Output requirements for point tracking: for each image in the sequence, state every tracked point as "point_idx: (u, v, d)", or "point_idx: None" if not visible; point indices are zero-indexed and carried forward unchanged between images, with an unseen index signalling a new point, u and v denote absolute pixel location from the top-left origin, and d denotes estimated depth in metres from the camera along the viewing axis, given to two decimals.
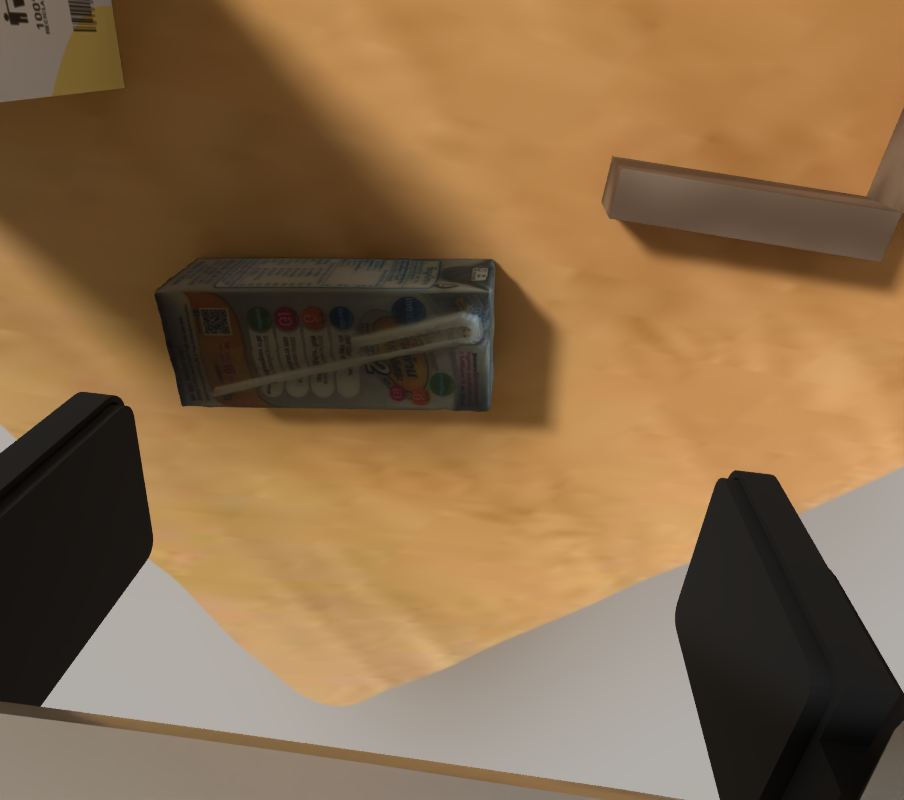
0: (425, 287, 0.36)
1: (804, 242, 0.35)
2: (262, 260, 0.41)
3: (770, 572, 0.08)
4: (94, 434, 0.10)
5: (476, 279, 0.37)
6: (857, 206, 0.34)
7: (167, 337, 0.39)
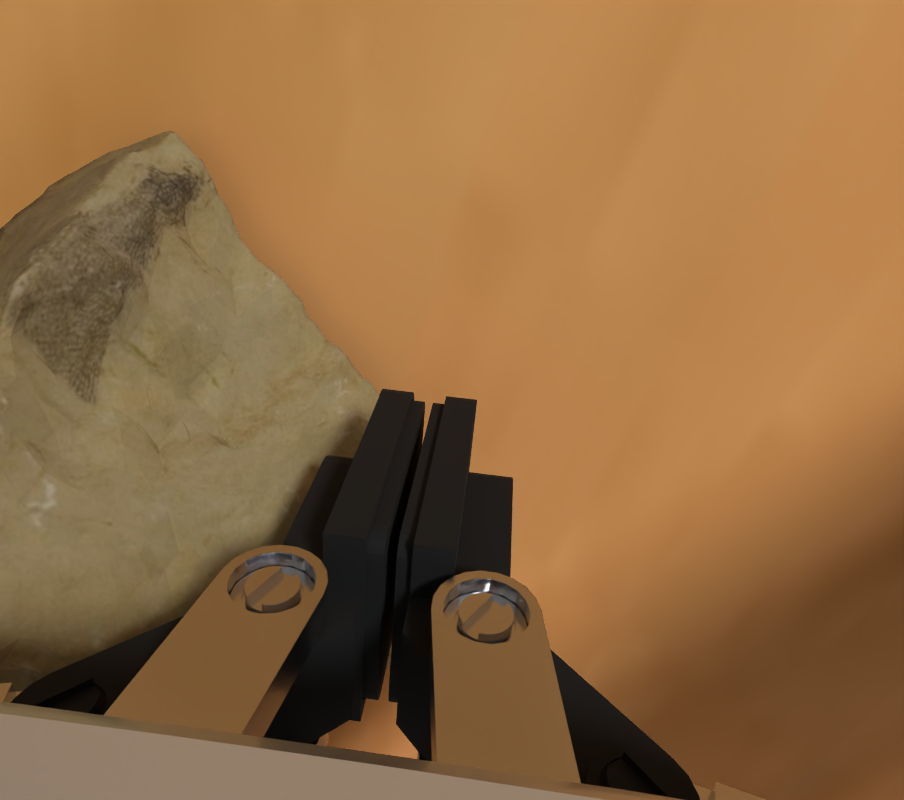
0: None
1: None
2: None
3: (420, 470, 0.09)
4: (415, 427, 0.10)
5: None
6: None
7: None
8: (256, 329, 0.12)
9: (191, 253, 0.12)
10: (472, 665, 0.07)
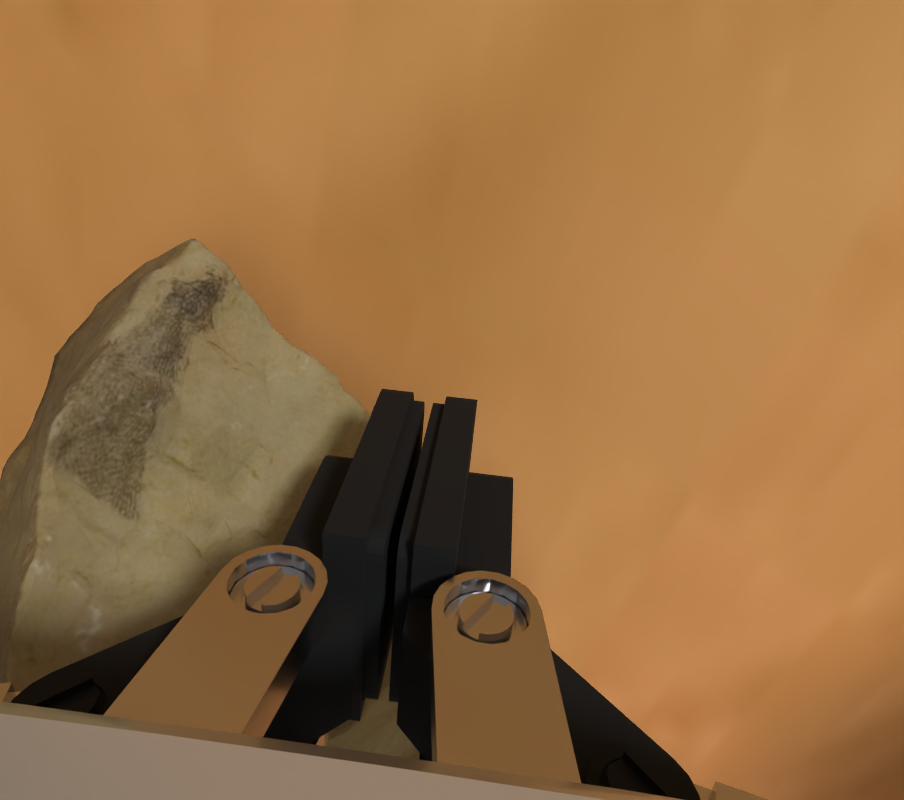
0: None
1: None
2: None
3: (420, 469, 0.09)
4: (415, 427, 0.10)
5: None
6: None
7: None
8: (292, 415, 0.13)
9: (221, 354, 0.12)
10: (472, 665, 0.07)
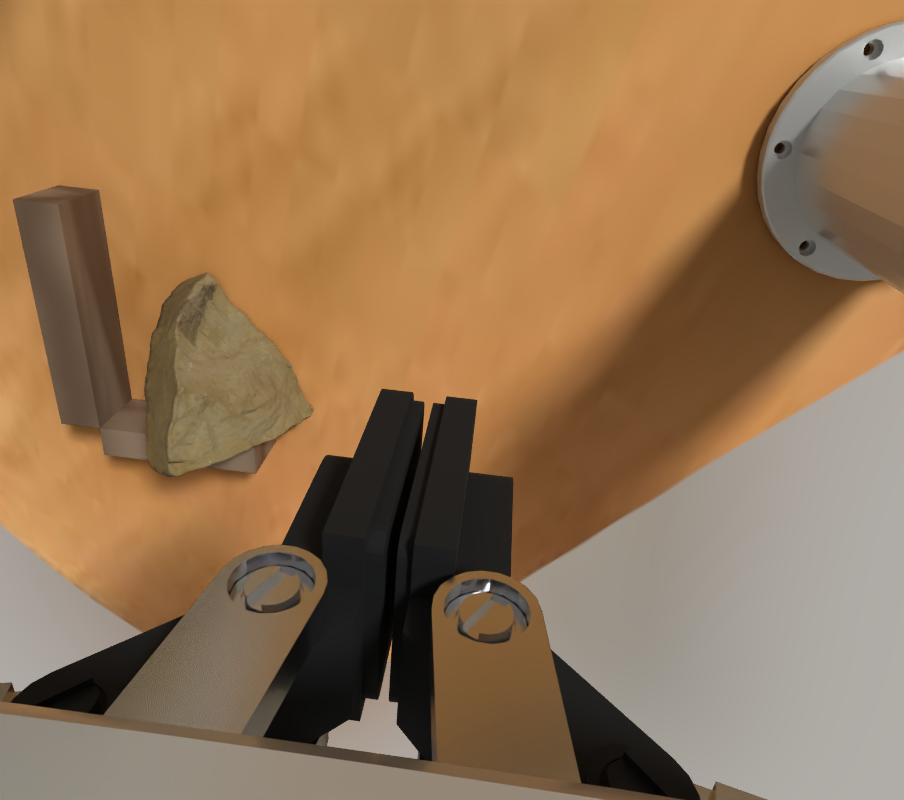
0: None
1: (54, 366, 0.41)
2: None
3: (420, 470, 0.09)
4: (415, 427, 0.10)
5: None
6: (93, 397, 0.42)
7: None
8: (235, 327, 0.42)
9: (215, 307, 0.41)
10: (472, 665, 0.07)
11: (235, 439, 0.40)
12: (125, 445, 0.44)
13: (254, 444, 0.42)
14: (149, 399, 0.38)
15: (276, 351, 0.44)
